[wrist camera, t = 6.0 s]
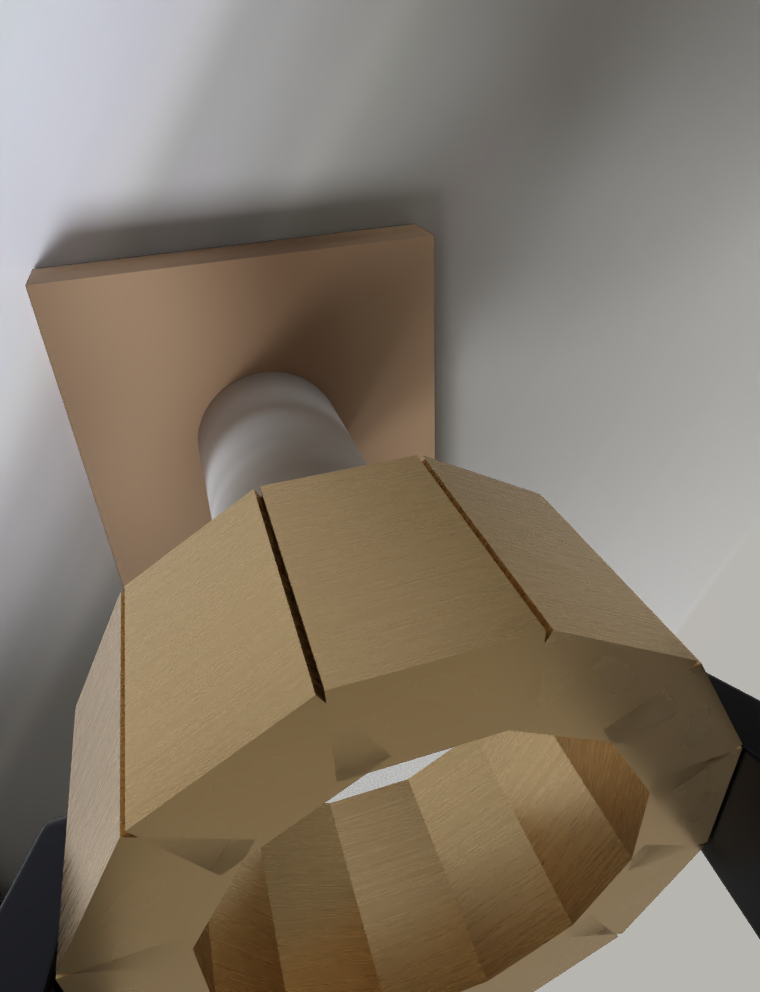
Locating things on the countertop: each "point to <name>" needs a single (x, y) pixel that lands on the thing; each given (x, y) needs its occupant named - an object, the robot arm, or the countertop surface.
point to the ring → (379, 749)
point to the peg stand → (238, 372)
